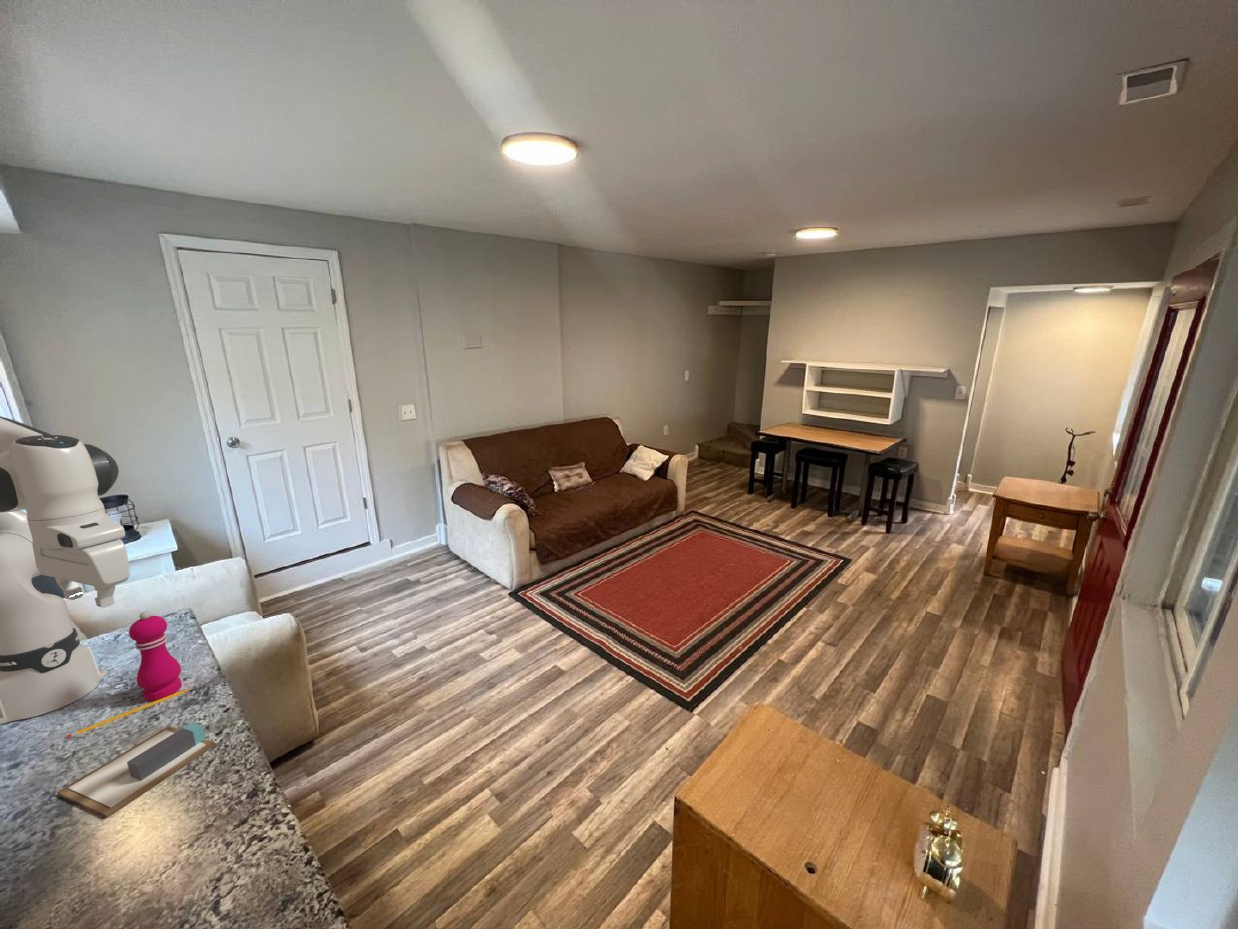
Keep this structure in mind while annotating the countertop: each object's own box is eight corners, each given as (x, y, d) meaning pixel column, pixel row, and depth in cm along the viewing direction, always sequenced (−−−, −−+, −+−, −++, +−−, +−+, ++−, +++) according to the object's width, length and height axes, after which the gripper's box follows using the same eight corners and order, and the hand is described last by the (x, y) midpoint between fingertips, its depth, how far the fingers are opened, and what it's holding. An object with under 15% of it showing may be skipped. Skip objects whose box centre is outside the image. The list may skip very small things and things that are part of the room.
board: (57, 795, 82) (56, 791, 82) (169, 729, 97) (168, 725, 97) (106, 818, 77) (105, 814, 77) (215, 745, 92) (214, 741, 92)
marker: (130, 776, 84) (126, 762, 84) (195, 735, 94) (192, 722, 93) (141, 780, 84) (137, 766, 83) (205, 739, 93) (202, 725, 92)
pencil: (67, 738, 95) (66, 735, 95) (193, 688, 109) (192, 686, 109) (67, 740, 95) (66, 737, 95) (193, 690, 109) (193, 687, 109)
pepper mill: (158, 705, 104) (137, 621, 100) (132, 701, 105) (111, 618, 101) (193, 683, 111) (175, 605, 107) (168, 680, 112) (150, 602, 108)
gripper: (11, 528, 83) (32, 601, 86) (80, 540, 76) (100, 619, 79) (62, 518, 89) (80, 586, 91) (130, 528, 82) (147, 601, 85)
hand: (90, 602), depth 85 cm, fingers open, 8 cm apart
